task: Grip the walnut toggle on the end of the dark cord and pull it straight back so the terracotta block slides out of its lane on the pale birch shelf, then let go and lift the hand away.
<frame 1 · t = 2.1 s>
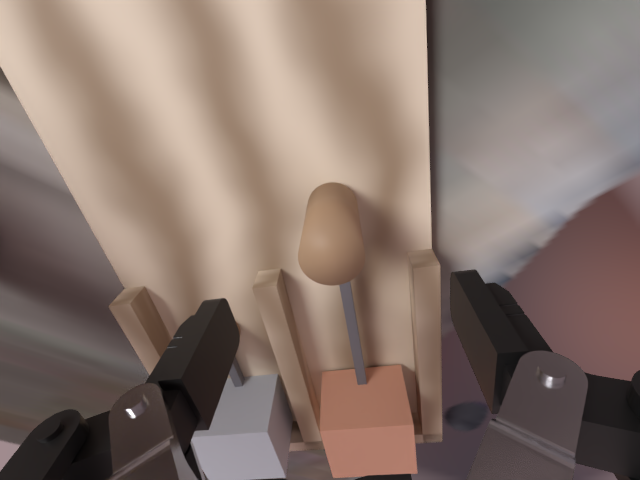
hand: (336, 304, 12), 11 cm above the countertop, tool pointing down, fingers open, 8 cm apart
shelf: (264, 237, 23), on the countertop
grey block: (251, 399, 30), point 1 cm above the countertop, touching shelf
terracotta block: (355, 354, 22), point 4 cm above the countertop, slide at 0.0 cm
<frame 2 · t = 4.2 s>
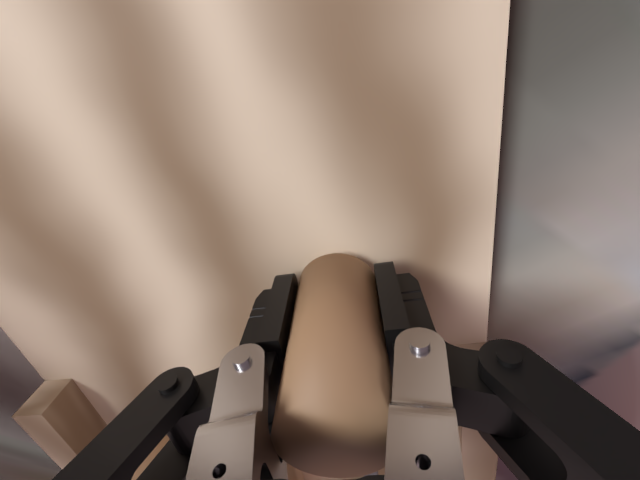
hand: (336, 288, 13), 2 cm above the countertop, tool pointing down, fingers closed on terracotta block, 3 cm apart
shelf: (239, 317, 16), on the countertop
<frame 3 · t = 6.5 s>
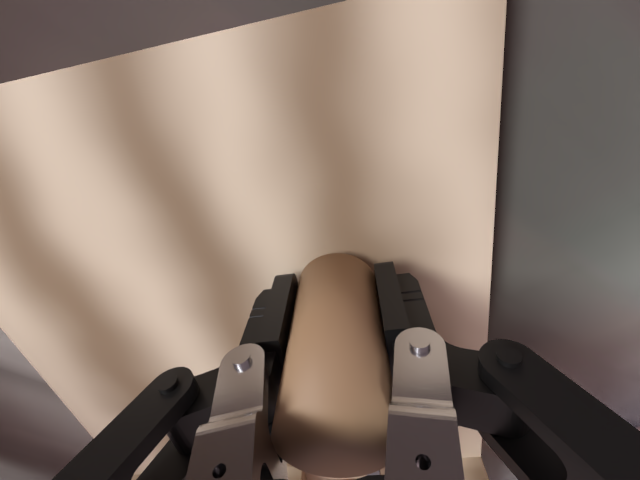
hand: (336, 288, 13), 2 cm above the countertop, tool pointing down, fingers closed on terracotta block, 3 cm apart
shelf: (283, 430, 20), on the countertop
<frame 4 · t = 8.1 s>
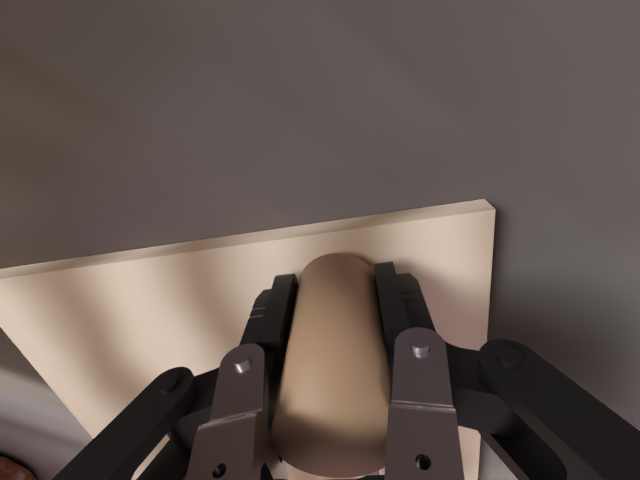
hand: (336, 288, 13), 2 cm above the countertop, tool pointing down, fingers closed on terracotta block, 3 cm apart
sauce bottle: (1, 468, 24), on the countertop
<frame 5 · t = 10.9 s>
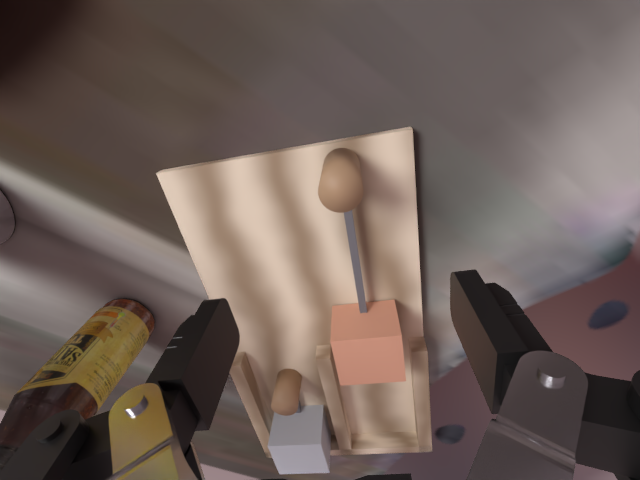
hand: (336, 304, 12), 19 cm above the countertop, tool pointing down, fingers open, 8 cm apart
shelf: (321, 325, 38), on the countertop
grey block: (303, 420, 45), point 1 cm above the countertop, touching shelf
sauce bottle: (131, 315, 39), on the countertop
terracotta block: (357, 281, 29), point 4 cm above the countertop, slide at 15.9 cm
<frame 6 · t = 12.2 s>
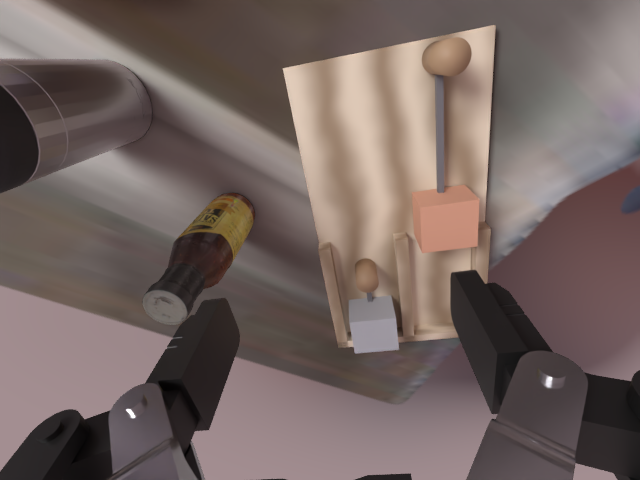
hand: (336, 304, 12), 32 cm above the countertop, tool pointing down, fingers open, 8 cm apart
shelf: (397, 216, 45), on the countertop
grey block: (371, 312, 52), point 1 cm above the countertop, touching shelf
sauce bottle: (233, 212, 46), on the countertop
terracotta block: (444, 155, 36), point 4 cm above the countertop, slide at 15.9 cm
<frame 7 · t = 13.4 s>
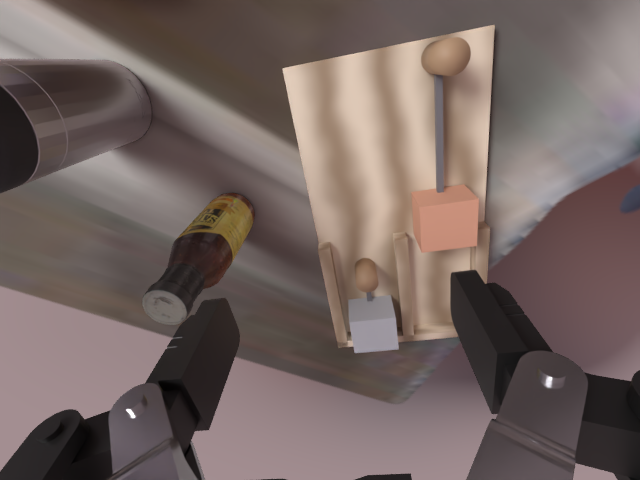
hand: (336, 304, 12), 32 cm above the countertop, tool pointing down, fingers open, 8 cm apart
shelf: (396, 216, 45), on the countertop
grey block: (371, 312, 52), point 1 cm above the countertop, touching shelf
sauce bottle: (233, 212, 46), on the countertop
terracotta block: (444, 154, 36), point 4 cm above the countertop, slide at 15.9 cm
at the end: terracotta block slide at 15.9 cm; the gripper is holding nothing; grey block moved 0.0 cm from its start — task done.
